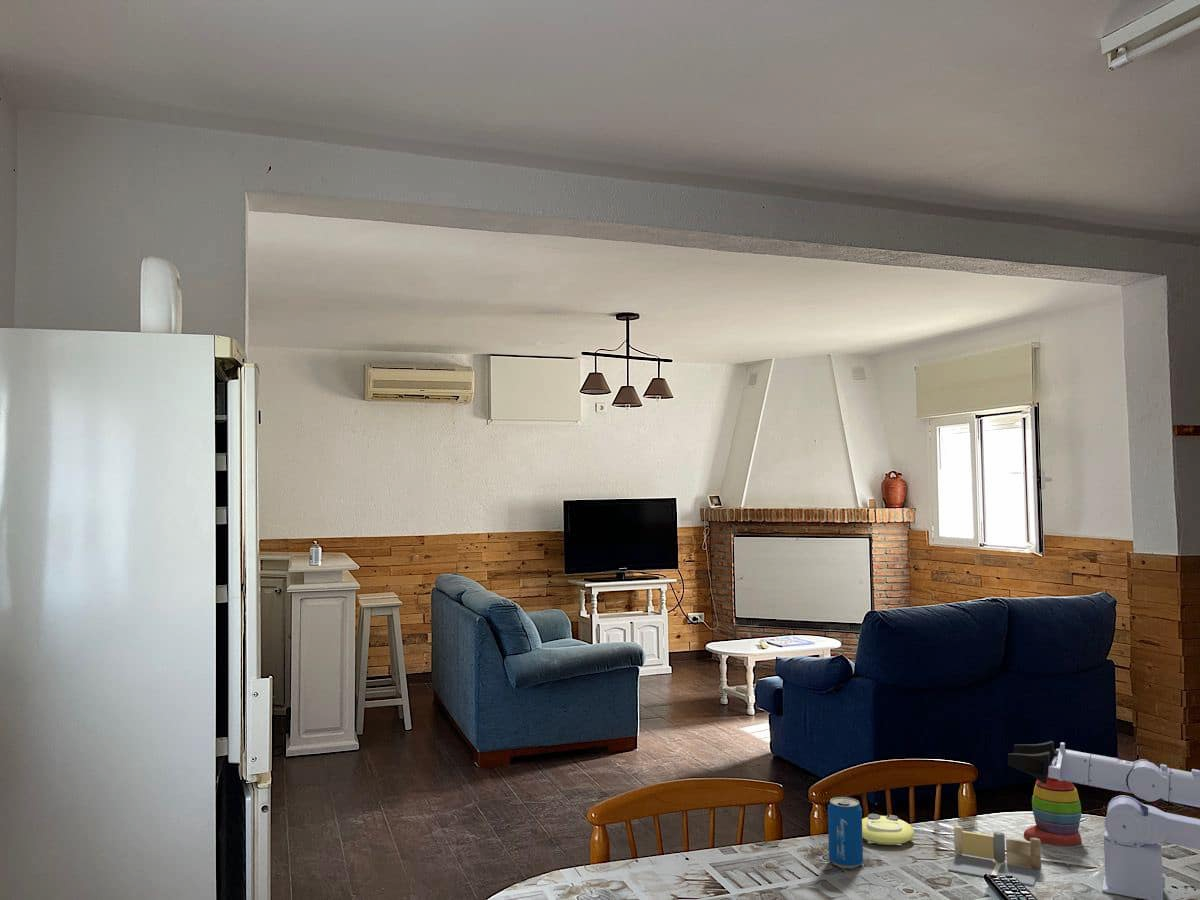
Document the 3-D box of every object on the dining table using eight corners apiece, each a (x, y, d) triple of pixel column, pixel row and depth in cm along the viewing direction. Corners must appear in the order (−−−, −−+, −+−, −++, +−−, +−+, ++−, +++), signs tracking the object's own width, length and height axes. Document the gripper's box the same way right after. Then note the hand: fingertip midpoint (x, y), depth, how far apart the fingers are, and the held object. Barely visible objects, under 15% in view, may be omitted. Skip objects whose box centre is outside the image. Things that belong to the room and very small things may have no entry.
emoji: (917, 834, 194) (910, 811, 205) (856, 831, 196) (853, 808, 208) (918, 853, 194) (911, 829, 205) (857, 850, 196) (853, 826, 208)
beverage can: (825, 866, 185) (824, 803, 186) (833, 855, 191) (832, 794, 192) (858, 872, 182) (857, 808, 183) (866, 861, 188) (864, 799, 189)
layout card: (1041, 863, 186) (1041, 861, 186) (1033, 886, 175) (1033, 884, 175) (960, 849, 194) (960, 848, 194) (948, 870, 183) (948, 869, 183)
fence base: (1041, 867, 183) (1040, 838, 184) (1040, 870, 182) (1039, 841, 182) (1007, 861, 186) (1006, 833, 187) (1006, 864, 185) (1005, 836, 185)
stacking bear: (1041, 826, 208) (1038, 743, 209) (1090, 837, 200) (1087, 751, 201) (1020, 838, 200) (1017, 752, 201) (1070, 850, 193) (1067, 761, 194)
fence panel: (1005, 859, 187) (1005, 832, 187) (1004, 862, 185) (1003, 836, 185) (955, 850, 192) (954, 825, 192) (953, 853, 190) (952, 827, 190)
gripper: (1093, 739, 184) (1017, 726, 191) (1087, 757, 171) (1006, 742, 178) (1091, 776, 184) (1015, 761, 191) (1086, 796, 171) (1004, 780, 178)
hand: (1010, 754), depth 184 cm, fingers open, 7 cm apart
